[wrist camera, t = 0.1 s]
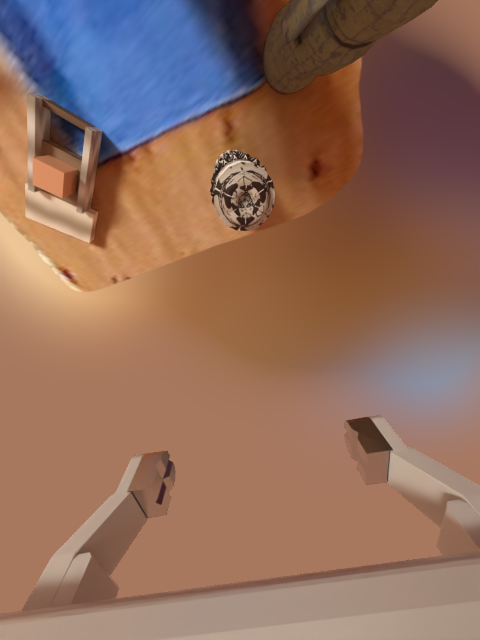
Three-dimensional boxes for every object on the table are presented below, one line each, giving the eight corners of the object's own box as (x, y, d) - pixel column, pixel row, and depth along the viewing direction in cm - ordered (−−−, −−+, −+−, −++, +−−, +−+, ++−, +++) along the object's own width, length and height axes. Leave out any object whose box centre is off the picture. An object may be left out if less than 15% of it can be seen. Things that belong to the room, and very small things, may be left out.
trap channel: (33, 89, 37) (15, 85, 34) (111, 136, 42) (101, 136, 38) (33, 213, 49) (19, 219, 45) (93, 239, 53) (85, 246, 50)
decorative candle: (227, 207, 51) (234, 251, 32) (203, 165, 46) (194, 188, 27) (262, 183, 49) (292, 216, 30) (241, 136, 43) (261, 139, 24)
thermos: (328, 69, 38) (584, -74, 12) (266, 111, 41) (358, 74, 15) (315, -11, 33) (733, -602, 6) (245, 44, 36) (331, -207, 9)
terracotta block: (49, 154, 41) (32, 157, 37) (77, 169, 42) (64, 173, 39) (48, 179, 43) (32, 184, 39) (75, 192, 45) (62, 198, 41)
